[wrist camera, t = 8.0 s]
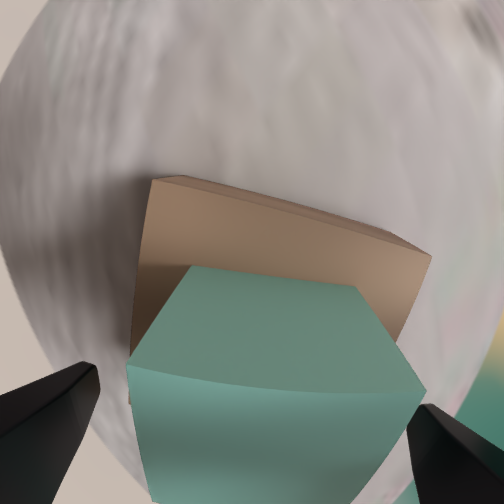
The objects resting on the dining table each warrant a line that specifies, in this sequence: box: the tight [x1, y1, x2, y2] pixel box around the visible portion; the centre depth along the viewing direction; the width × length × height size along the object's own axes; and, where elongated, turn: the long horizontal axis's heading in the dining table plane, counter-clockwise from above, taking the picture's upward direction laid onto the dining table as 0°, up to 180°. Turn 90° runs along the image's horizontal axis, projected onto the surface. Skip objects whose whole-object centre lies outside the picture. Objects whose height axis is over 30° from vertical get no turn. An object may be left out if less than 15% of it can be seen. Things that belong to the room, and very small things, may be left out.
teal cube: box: [126, 265, 426, 504], centre depth 7 cm, size 5×5×5 cm
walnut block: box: [129, 175, 432, 405], centre depth 12 cm, size 9×9×4 cm
